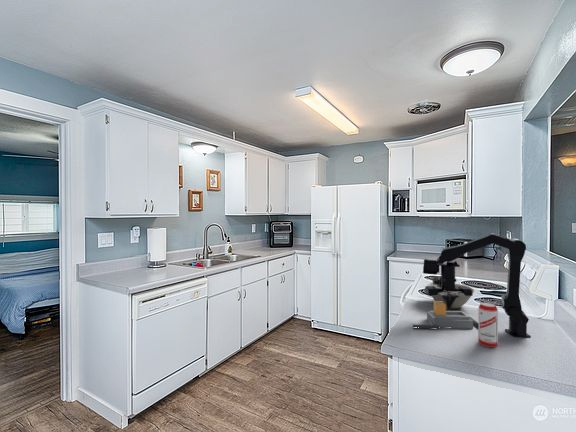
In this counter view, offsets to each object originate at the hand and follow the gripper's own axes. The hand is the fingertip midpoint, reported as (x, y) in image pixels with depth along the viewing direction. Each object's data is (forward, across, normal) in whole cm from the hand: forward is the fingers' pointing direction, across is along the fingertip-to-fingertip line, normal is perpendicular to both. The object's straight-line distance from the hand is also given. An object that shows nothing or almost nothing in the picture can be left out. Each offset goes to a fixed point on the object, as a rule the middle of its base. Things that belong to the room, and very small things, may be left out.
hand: (448, 309), depth 137 cm
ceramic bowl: (+7, -10, -24) cm, 27 cm away
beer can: (+7, -7, +20) cm, 22 cm away
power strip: (+7, 0, 0) cm, 7 cm away
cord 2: (+7, -11, 0) cm, 13 cm away
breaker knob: (+3, +4, 0) cm, 5 cm away
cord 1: (+7, +12, +7) cm, 15 cm away
